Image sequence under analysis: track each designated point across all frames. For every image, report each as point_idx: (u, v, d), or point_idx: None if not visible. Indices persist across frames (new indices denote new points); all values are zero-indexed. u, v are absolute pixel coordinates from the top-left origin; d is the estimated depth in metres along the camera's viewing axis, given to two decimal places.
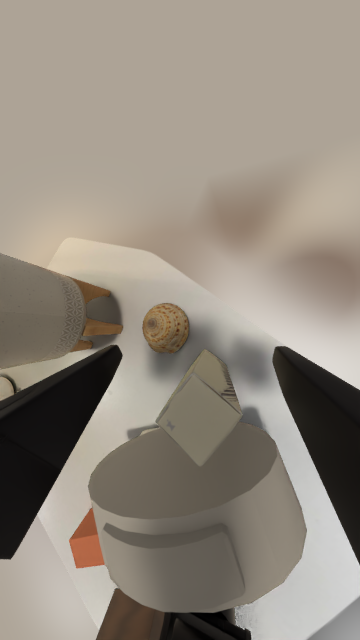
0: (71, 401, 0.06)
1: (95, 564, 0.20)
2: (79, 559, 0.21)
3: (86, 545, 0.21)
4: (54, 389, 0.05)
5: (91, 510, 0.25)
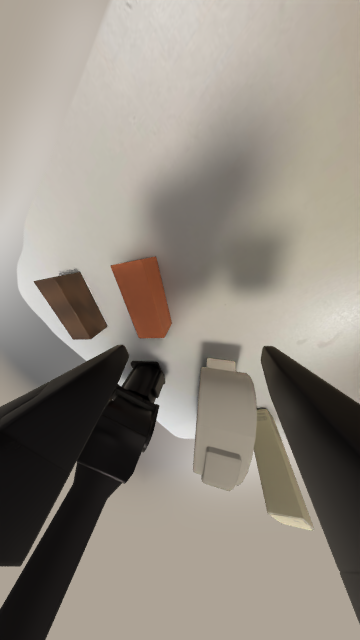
0: (79, 402, 0.06)
1: (126, 302, 0.16)
2: (123, 275, 0.15)
3: (142, 294, 0.15)
4: (63, 390, 0.05)
5: (156, 262, 0.17)
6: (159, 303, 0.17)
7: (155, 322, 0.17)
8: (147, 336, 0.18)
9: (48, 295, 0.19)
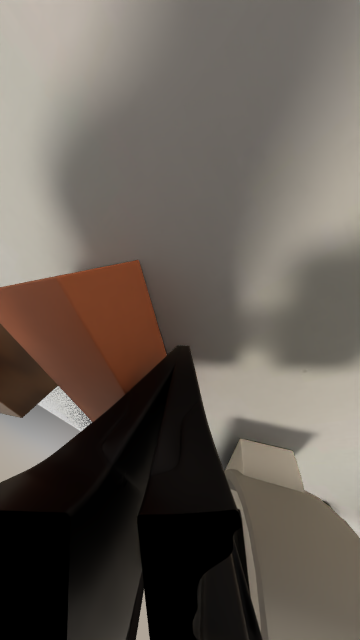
0: None
1: (58, 383, 0.06)
2: (21, 325, 0.04)
3: (92, 377, 0.05)
4: (154, 403, 0.04)
5: (139, 275, 0.06)
6: None
7: None
8: None
9: None
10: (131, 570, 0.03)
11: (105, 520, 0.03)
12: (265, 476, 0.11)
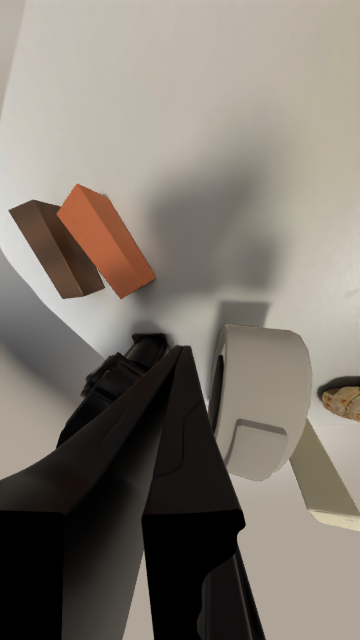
0: (161, 416, 0.05)
1: (89, 255, 0.14)
2: (71, 219, 0.13)
3: (98, 234, 0.13)
4: (152, 403, 0.04)
5: (109, 203, 0.15)
6: (125, 244, 0.14)
7: (125, 266, 0.14)
8: (127, 292, 0.16)
9: (28, 231, 0.15)
10: (128, 569, 0.03)
11: (102, 518, 0.03)
12: None
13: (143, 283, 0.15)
